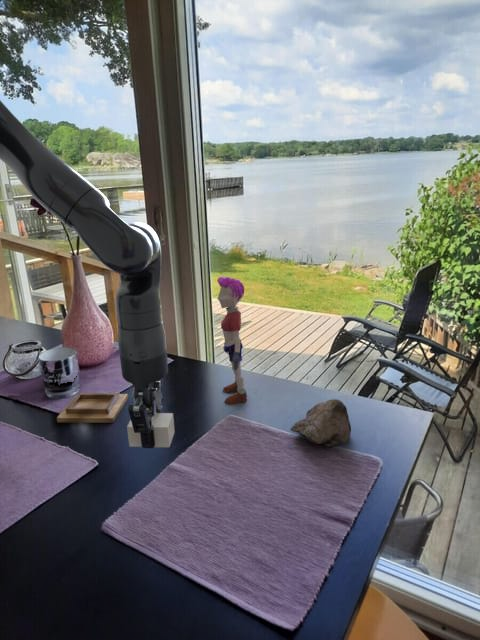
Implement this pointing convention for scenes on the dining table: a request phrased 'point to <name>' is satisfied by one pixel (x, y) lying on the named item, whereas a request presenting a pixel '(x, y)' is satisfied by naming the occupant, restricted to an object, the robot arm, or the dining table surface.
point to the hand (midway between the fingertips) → (152, 437)
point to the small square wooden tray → (93, 408)
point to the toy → (232, 334)
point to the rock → (325, 424)
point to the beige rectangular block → (155, 431)
